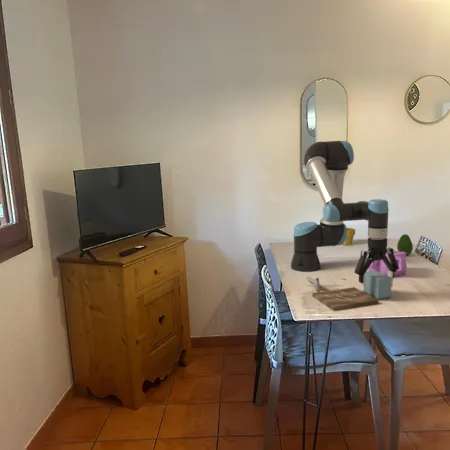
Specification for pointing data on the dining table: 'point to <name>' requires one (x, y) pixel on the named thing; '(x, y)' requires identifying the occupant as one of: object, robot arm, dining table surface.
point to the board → (344, 298)
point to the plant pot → (349, 236)
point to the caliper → (315, 283)
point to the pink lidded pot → (382, 267)
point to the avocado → (405, 244)
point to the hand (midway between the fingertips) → (376, 288)
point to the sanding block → (378, 285)
